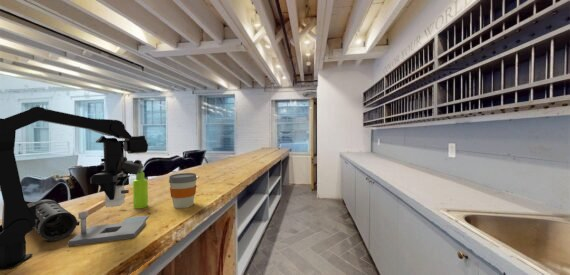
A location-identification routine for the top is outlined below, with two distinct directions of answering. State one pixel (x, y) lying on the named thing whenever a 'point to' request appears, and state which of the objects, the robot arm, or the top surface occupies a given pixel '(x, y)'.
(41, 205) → the muzzle brake
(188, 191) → the reusable coffee cup
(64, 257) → the top surface
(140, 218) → the mat
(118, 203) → the plug
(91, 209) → the tan wooden bar
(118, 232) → the socket block
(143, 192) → the soap dispenser
